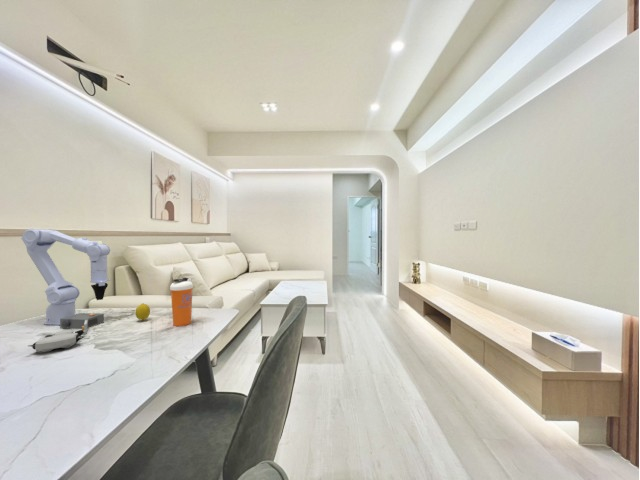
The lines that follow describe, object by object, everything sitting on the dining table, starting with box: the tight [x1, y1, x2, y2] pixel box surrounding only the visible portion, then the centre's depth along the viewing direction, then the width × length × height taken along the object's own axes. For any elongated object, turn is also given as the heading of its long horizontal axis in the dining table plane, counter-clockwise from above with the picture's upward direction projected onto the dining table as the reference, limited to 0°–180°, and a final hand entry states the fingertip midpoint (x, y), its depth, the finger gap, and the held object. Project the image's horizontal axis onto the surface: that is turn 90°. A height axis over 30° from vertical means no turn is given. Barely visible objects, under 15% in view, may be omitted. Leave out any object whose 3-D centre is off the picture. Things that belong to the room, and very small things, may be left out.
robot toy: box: [27, 329, 86, 353], centre depth 89 cm, size 12×4×15 cm
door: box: [81, 319, 89, 335], centre depth 102 cm, size 1×8×4 cm, turn 41°
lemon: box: [134, 303, 151, 322], centre depth 115 cm, size 6×6×8 cm
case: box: [59, 312, 105, 330], centre depth 109 cm, size 12×9×5 cm
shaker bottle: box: [169, 277, 194, 327], centre depth 110 cm, size 9×9×20 cm
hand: (99, 299), depth 115 cm, fingers closed
